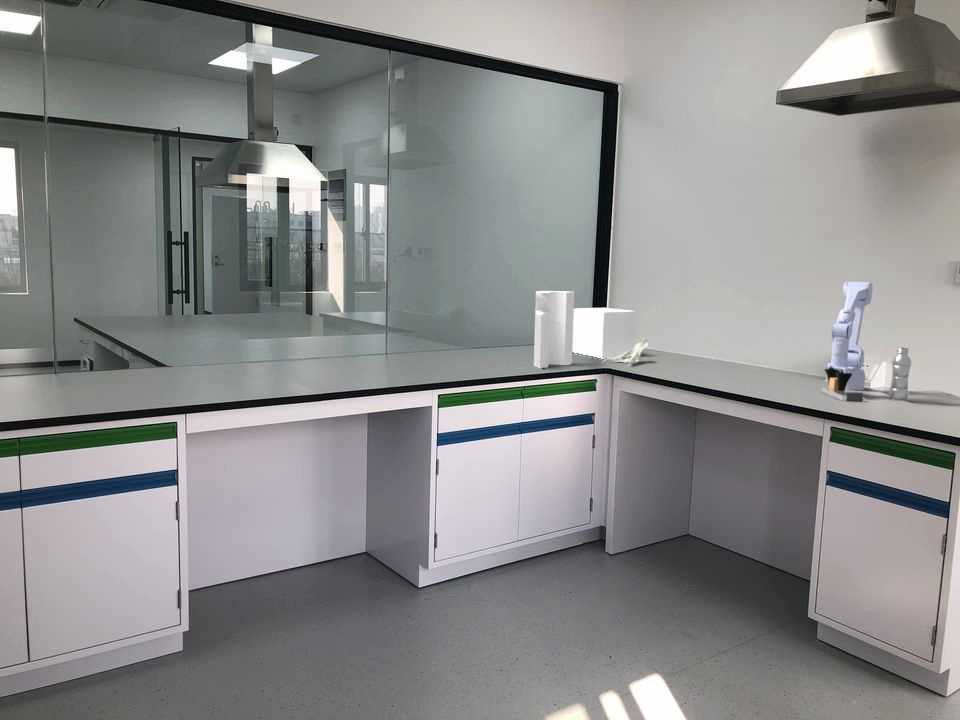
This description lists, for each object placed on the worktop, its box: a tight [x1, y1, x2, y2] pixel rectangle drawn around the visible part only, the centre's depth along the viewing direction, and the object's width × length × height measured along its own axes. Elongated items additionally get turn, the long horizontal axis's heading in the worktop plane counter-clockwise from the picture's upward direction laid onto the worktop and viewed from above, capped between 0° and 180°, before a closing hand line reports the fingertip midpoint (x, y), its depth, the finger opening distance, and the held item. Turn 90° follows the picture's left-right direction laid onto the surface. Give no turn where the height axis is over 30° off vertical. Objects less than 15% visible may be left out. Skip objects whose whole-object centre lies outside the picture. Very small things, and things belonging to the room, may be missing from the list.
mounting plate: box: [819, 387, 867, 403], centre depth 291 cm, size 10×18×4 cm, turn 0°
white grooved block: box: [533, 290, 575, 368], centre depth 359 cm, size 35×11×21 cm
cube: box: [572, 307, 637, 360], centre depth 401 cm, size 25×21×24 cm
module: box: [828, 378, 846, 394], centre depth 297 cm, size 4×4×6 cm
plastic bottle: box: [888, 347, 912, 401], centre depth 289 cm, size 6×7×20 cm
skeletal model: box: [601, 337, 649, 368], centre depth 374 cm, size 16×9×25 cm
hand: (836, 388), depth 297 cm, fingers open, 7 cm apart
